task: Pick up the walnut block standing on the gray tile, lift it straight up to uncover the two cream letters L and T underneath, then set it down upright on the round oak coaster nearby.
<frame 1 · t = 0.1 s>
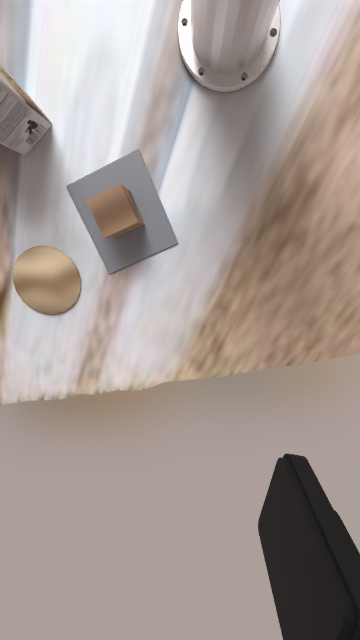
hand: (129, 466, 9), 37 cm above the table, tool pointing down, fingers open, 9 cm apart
walnut block: (123, 215, 41), resting on gray tile
coaster: (47, 281, 45), on the table
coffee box: (16, 114, 39), on the table
gray tile: (123, 215, 42), on the table
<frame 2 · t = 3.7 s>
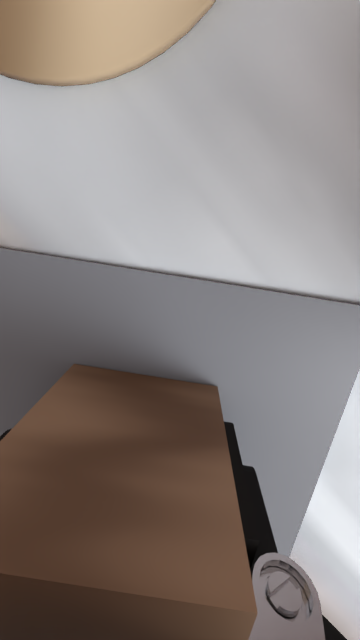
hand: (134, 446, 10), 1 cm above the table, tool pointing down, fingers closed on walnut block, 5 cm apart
walnut block: (137, 435, 10), resting on gray tile, touching gripper
gray tile: (139, 430, 10), on the table
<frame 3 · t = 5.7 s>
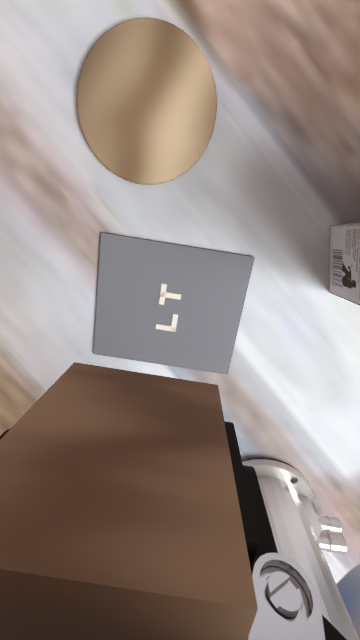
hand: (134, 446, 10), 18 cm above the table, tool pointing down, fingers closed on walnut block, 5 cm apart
walnut block: (138, 434, 10), point 17 cm above the table, touching gripper
coaster: (147, 109, 22), on the table
gray tile: (168, 308, 27), on the table
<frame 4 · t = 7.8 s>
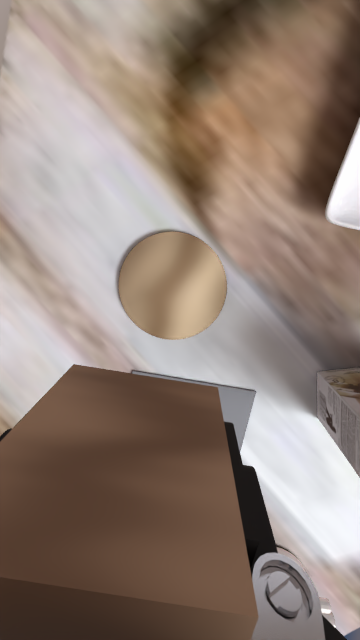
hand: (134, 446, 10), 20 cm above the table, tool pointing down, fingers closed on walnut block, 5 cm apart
walnut block: (137, 436, 10), point 20 cm above the table, touching gripper
coaster: (172, 287, 28), on the table
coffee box: (356, 390, 31), on the table
gray tile: (185, 425, 33), on the table
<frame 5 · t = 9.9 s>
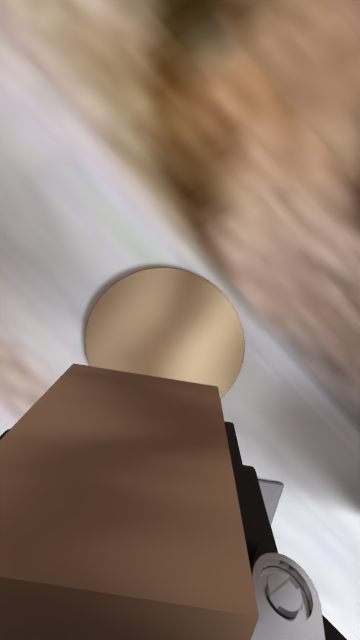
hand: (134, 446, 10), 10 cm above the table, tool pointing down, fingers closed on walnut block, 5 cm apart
walnut block: (137, 435, 10), point 10 cm above the table, touching gripper
coaster: (164, 347, 19), on the table
gray tile: (185, 525, 24), on the table
when the fingers open (3 cm above the table, at t = 11.7 s): walnut block drops 2 cm, resting on coaster.
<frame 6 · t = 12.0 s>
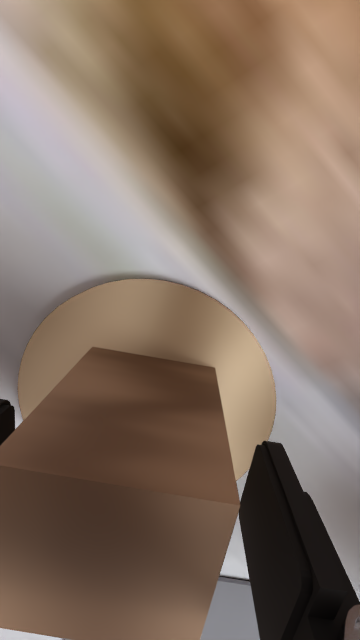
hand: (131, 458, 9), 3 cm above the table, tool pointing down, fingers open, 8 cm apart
walnut block: (145, 410, 12), resting on coaster
coaster: (146, 403, 12), on the table
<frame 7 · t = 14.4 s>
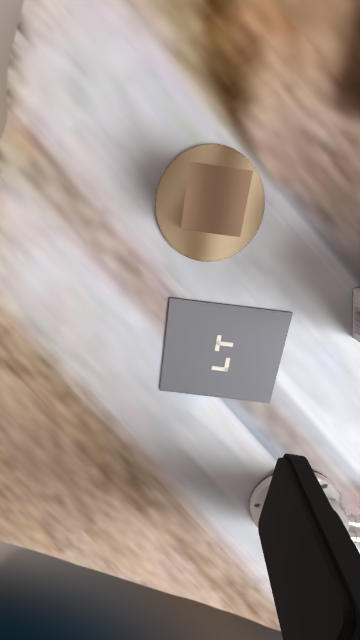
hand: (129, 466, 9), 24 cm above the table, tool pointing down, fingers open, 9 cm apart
walnut block: (209, 206, 28), resting on coaster
coaster: (209, 206, 28), on the table
gray tile: (222, 353, 33), on the table
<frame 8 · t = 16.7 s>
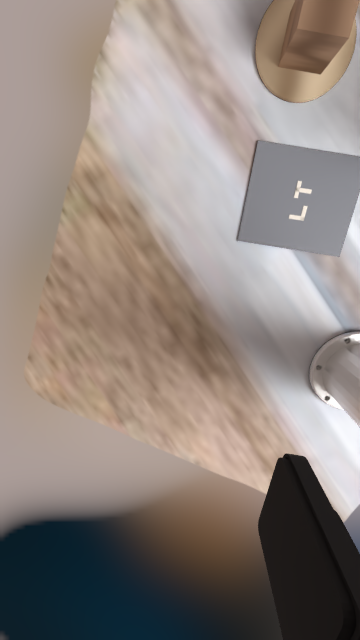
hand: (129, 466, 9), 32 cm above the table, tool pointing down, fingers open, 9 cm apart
walnut block: (305, 44, 31), resting on coaster
coaster: (304, 45, 31), on the table
gray tile: (300, 201, 36), on the table
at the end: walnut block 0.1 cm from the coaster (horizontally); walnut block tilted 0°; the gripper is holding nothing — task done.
